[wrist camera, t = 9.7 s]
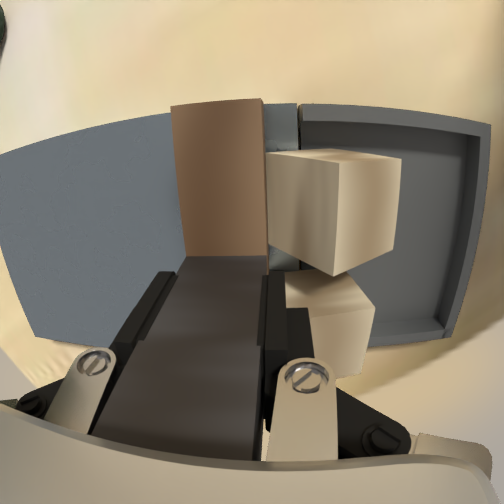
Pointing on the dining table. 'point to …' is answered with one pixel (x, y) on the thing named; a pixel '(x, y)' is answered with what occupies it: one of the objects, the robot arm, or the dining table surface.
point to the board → (102, 221)
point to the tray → (414, 211)
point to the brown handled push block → (205, 299)
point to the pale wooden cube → (333, 317)
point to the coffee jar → (1, 22)
